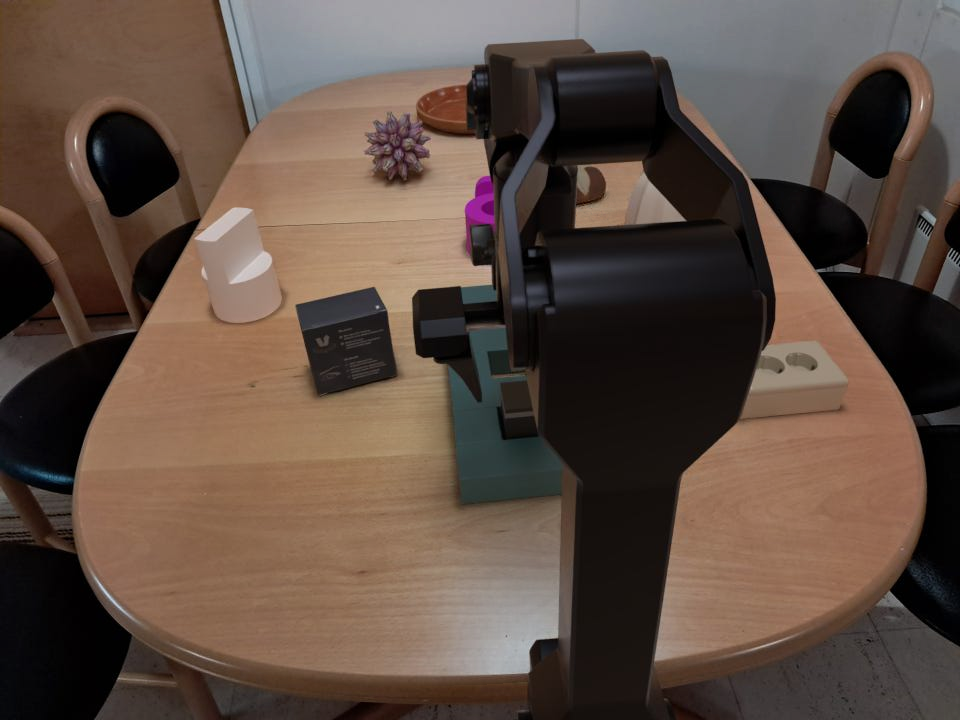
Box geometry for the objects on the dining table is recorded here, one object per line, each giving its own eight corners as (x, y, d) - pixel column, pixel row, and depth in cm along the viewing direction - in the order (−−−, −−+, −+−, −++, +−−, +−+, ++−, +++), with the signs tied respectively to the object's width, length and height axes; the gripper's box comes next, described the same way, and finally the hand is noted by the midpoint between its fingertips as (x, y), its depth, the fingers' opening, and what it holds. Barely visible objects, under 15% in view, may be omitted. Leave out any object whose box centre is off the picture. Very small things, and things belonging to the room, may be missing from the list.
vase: (642, 219, 108) (652, 135, 100) (732, 239, 102) (750, 151, 94) (607, 259, 99) (615, 170, 91) (704, 283, 93) (722, 190, 85)
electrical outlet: (658, 353, 75) (818, 338, 76) (653, 381, 78) (808, 366, 79) (679, 396, 70) (851, 379, 71) (674, 425, 72) (840, 409, 73)
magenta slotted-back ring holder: (533, 263, 99) (533, 223, 95) (464, 263, 100) (462, 224, 96) (533, 211, 112) (533, 175, 108) (472, 212, 112) (470, 175, 108)
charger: (546, 457, 70) (547, 406, 65) (505, 461, 69) (504, 410, 65) (539, 429, 73) (540, 378, 68) (501, 432, 73) (499, 382, 68)
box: (386, 350, 84) (376, 284, 79) (398, 377, 80) (388, 309, 74) (310, 369, 82) (293, 302, 76) (318, 397, 78) (301, 329, 72)
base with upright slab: (260, 327, 89) (236, 245, 82) (200, 317, 92) (171, 237, 84) (294, 290, 96) (274, 211, 88) (238, 282, 98) (214, 204, 91)
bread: (614, 200, 114) (617, 171, 111) (551, 213, 111) (552, 184, 108) (583, 174, 122) (585, 147, 119) (524, 186, 119) (524, 158, 116)
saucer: (547, 113, 147) (547, 96, 144) (476, 147, 134) (475, 128, 131) (467, 94, 159) (466, 77, 157) (395, 123, 146) (392, 105, 144)
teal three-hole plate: (605, 489, 66) (608, 464, 64) (461, 504, 65) (459, 479, 63) (547, 302, 91) (547, 279, 89) (442, 311, 91) (440, 288, 88)
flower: (441, 178, 127) (412, 192, 117) (383, 167, 130) (350, 180, 120) (444, 112, 121) (414, 121, 112) (384, 103, 125) (349, 111, 115)
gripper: (632, 174, 56) (616, 329, 66) (402, 191, 55) (421, 347, 65) (676, 240, 47) (650, 408, 57) (404, 262, 46) (424, 429, 56)
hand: (532, 394), depth 59 cm, fingers open, 9 cm apart
